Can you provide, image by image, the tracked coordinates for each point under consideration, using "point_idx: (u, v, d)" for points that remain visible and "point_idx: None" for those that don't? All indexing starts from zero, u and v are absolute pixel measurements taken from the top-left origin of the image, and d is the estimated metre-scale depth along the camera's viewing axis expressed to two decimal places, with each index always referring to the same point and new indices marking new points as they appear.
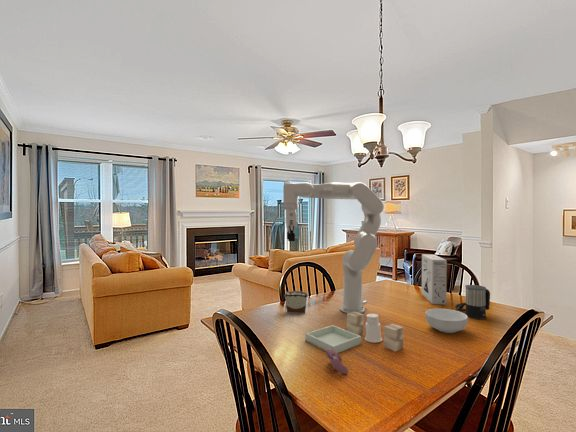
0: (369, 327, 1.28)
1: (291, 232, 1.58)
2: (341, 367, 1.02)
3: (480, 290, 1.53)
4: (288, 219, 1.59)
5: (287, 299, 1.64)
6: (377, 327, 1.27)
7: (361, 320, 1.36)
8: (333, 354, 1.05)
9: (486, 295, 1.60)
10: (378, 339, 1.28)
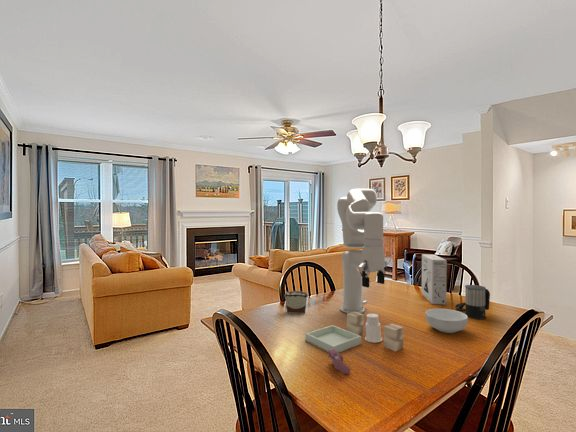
0: (369, 327, 1.28)
1: None
2: (343, 367, 1.02)
3: (480, 290, 1.53)
4: None
5: (287, 299, 1.64)
6: (377, 327, 1.27)
7: (361, 320, 1.36)
8: (335, 354, 1.05)
9: (486, 295, 1.60)
10: (378, 339, 1.28)
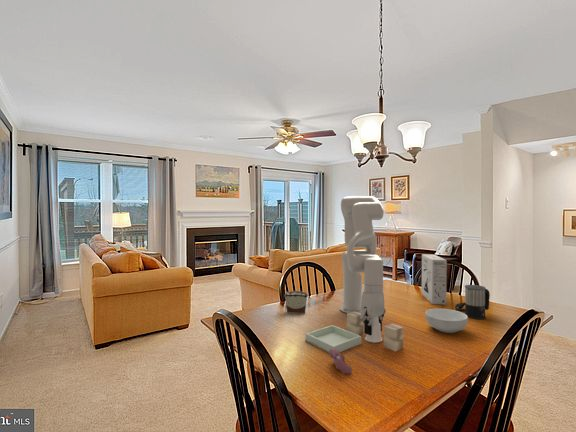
0: None
1: None
2: (345, 367, 1.02)
3: (479, 290, 1.53)
4: None
5: (287, 299, 1.64)
6: (377, 327, 1.27)
7: (361, 320, 1.36)
8: (336, 354, 1.05)
9: (486, 295, 1.60)
10: (378, 339, 1.28)
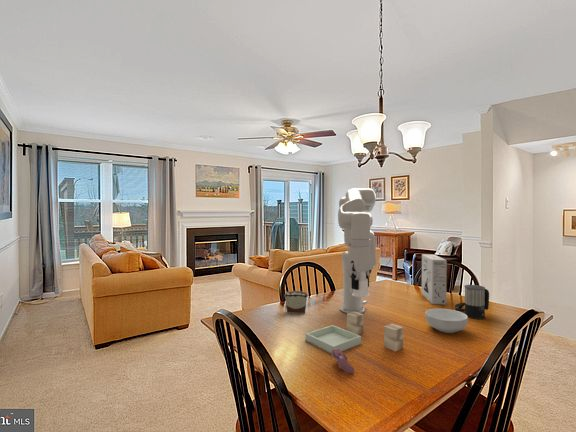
0: None
1: None
2: (347, 367, 1.02)
3: (479, 290, 1.54)
4: None
5: (287, 299, 1.64)
6: (364, 282, 1.26)
7: (361, 320, 1.36)
8: (339, 354, 1.05)
9: (485, 295, 1.60)
10: (365, 294, 1.26)
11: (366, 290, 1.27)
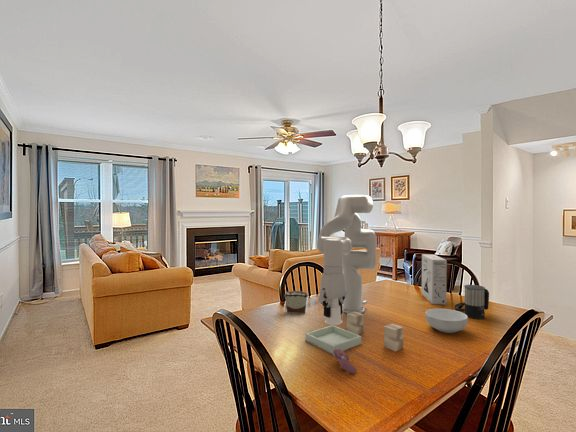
0: None
1: None
2: (349, 367, 1.02)
3: (479, 290, 1.54)
4: None
5: (287, 299, 1.64)
6: (336, 309, 1.24)
7: (361, 320, 1.36)
8: (341, 354, 1.05)
9: (485, 295, 1.60)
10: (337, 321, 1.25)
11: (338, 318, 1.25)
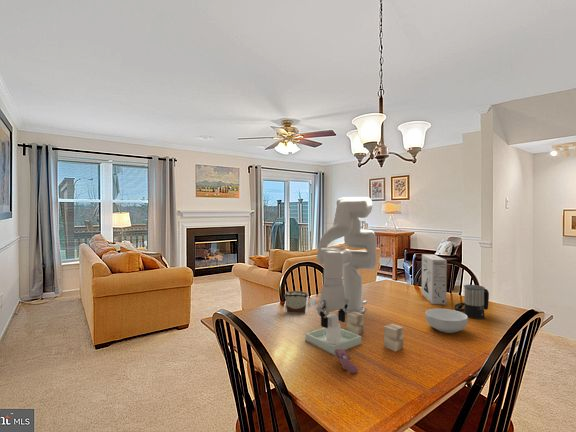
0: (328, 328, 1.25)
1: None
2: (351, 367, 1.03)
3: (479, 290, 1.54)
4: None
5: (287, 299, 1.64)
6: (336, 328, 1.25)
7: (361, 320, 1.36)
8: (342, 353, 1.06)
9: (485, 295, 1.60)
10: (337, 340, 1.25)
11: (338, 336, 1.25)
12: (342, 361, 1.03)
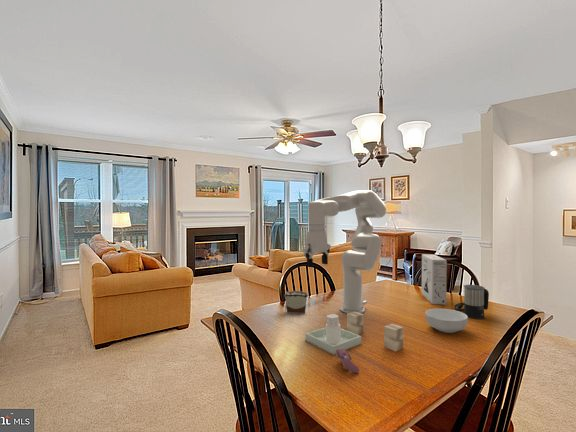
0: (328, 328, 1.25)
1: None
2: (352, 367, 1.03)
3: (478, 290, 1.54)
4: None
5: (287, 299, 1.64)
6: (336, 328, 1.25)
7: (361, 320, 1.36)
8: (344, 353, 1.06)
9: (485, 295, 1.60)
10: (337, 340, 1.25)
11: (338, 336, 1.25)
12: (343, 361, 1.03)
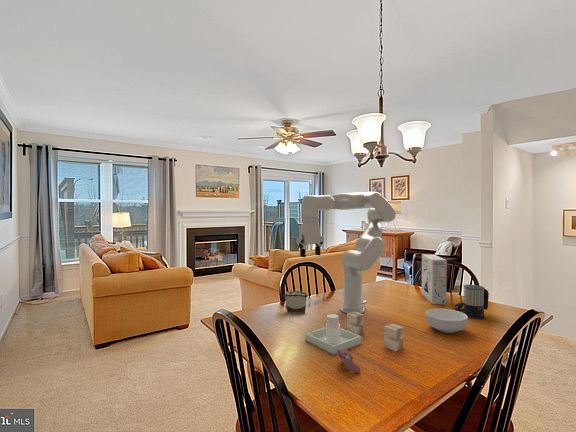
0: (328, 328, 1.25)
1: None
2: (353, 366, 1.03)
3: (478, 290, 1.54)
4: None
5: (287, 299, 1.64)
6: (336, 328, 1.25)
7: (361, 320, 1.36)
8: (345, 353, 1.06)
9: (485, 295, 1.60)
10: (337, 340, 1.25)
11: (338, 336, 1.25)
12: (345, 361, 1.03)
